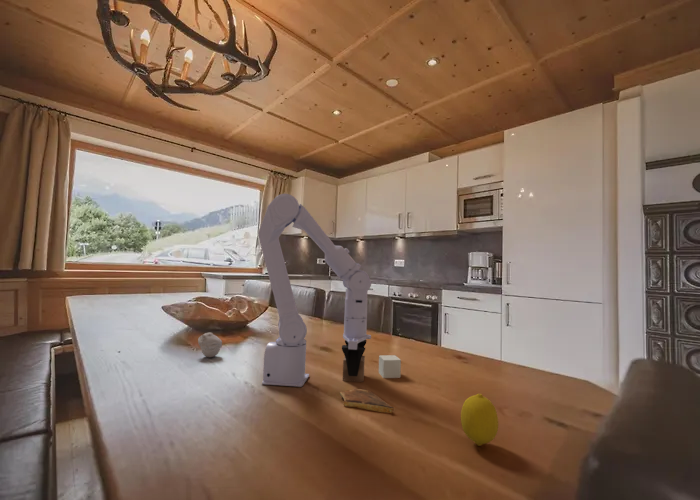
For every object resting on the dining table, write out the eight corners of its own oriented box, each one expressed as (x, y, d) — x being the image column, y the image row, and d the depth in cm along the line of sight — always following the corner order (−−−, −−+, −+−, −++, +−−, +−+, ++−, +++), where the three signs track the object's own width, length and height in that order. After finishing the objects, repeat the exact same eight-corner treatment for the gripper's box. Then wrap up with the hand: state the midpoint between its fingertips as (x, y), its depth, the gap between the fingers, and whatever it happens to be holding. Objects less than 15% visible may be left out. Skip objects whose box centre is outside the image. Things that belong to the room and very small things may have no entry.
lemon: (454, 436, 54) (455, 387, 54) (486, 436, 54) (487, 387, 55) (469, 455, 48) (470, 400, 49) (505, 455, 49) (505, 401, 49)
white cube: (383, 378, 82) (383, 360, 82) (378, 372, 86) (379, 355, 86) (400, 378, 83) (400, 360, 83) (394, 372, 87) (395, 355, 87)
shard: (394, 416, 62) (394, 406, 62) (358, 423, 58) (358, 413, 58) (367, 395, 71) (367, 386, 72) (335, 400, 68) (335, 391, 68)
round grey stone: (204, 353, 98) (205, 330, 99) (226, 355, 97) (227, 331, 98) (192, 358, 92) (193, 334, 93) (215, 360, 91) (216, 335, 92)
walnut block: (342, 380, 79) (343, 360, 79) (344, 374, 84) (345, 354, 84) (363, 382, 78) (363, 361, 79) (364, 375, 83) (364, 355, 84)
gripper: (370, 322, 74) (369, 383, 74) (372, 313, 89) (370, 364, 88) (340, 321, 75) (338, 381, 74) (346, 312, 90) (344, 362, 89)
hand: (353, 371), depth 81 cm, fingers open, 5 cm apart
